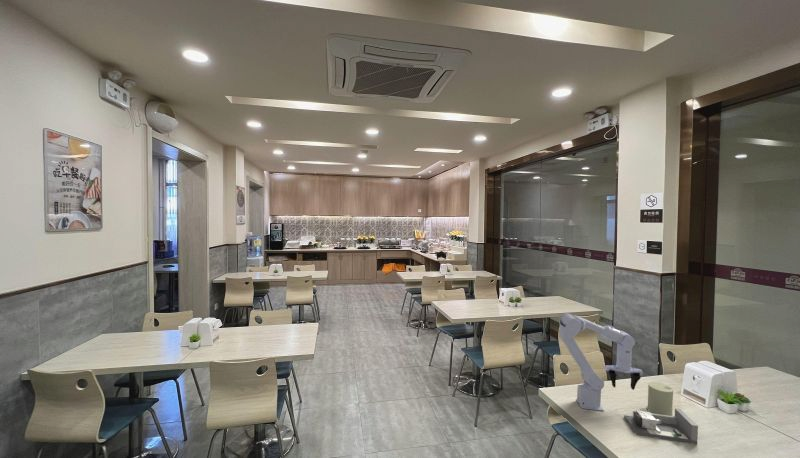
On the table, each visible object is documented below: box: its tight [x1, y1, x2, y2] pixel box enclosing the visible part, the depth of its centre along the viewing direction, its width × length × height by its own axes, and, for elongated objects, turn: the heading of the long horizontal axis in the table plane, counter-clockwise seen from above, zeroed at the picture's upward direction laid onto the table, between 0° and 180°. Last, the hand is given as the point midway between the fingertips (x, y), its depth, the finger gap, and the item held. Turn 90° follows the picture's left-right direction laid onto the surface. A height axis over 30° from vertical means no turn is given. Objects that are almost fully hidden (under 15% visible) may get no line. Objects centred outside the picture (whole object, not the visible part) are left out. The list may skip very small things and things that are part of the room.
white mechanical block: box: [634, 409, 662, 434], centre depth 138 cm, size 9×10×4 cm
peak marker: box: [673, 429, 681, 437], centre depth 133 cm, size 1×3×1 cm, turn 166°
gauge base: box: [623, 408, 699, 445], centre depth 139 cm, size 21×12×7 cm, turn 76°
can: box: [646, 381, 674, 416], centre depth 153 cm, size 9×9×12 cm
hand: (623, 387), depth 155 cm, fingers open, 7 cm apart
